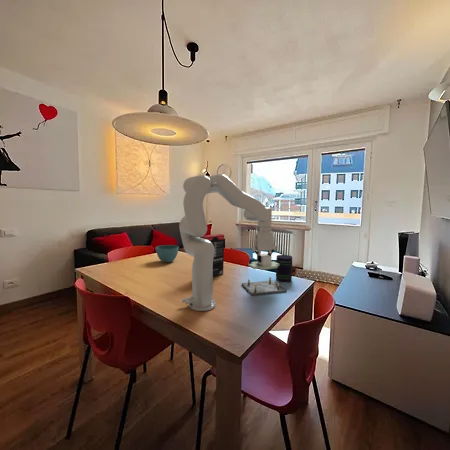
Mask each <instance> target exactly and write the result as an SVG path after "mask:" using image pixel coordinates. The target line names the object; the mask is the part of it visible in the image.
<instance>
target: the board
mask: <svg viewBox="0 0 450 450" xmlns="http://www.w3.org/2000/svg"><path fill="white" fill-rule="evenodd" d="M267 254H268V253H261V254H260V255H261V263H259V262H258V261H257V260H256V261H252V262H250V263H248V267H250V268H251V269H253V270H257V269H260V271H264V270H271V269H273V270H274V269H277V268H278V266H279V264H278V263H276V261H272V255H271V256H270V255H267Z"/></svg>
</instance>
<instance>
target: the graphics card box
mask: <svg viewBox="0 0 450 450" xmlns="http://www.w3.org/2000/svg"><path fill="white" fill-rule="evenodd" d="M200 238H203V239H207V240H209V241H210V242H211V243H212V244H213V246H214V250H215V252H214V258H213V277H217V276H220V275H221V276H222V275H223V274H224V261H225V259H224V258H225V257H224V255H225V234H223V233H221V234H219V233H218V234H209V235H207V234H206V235H204V236H201V237H200Z"/></svg>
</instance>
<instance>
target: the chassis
mask: <svg viewBox="0 0 450 450" xmlns="http://www.w3.org/2000/svg"><path fill="white" fill-rule="evenodd" d="M268 279H269V280H263V281H262V280H261V281H252V282H251V281H250V280H251V279H249V278H248V279H247V282H242V283H241V286H242V287H243V288H244V289H245V290H246V291H247V292H248V293H249V294H250V295H251V296H252V297H253V296H254V297H255V296H262V295H264V296H265V295H271V294H279V293H280V294H281V293H287V289H286V288H285V287H283V286H281V285H280V283H279V282H277V281H274V280H272V277H270V276H269V278H268Z"/></svg>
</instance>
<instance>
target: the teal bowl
mask: <svg viewBox="0 0 450 450" xmlns="http://www.w3.org/2000/svg"><path fill="white" fill-rule="evenodd" d="M179 248H180V247H179V245H175V244H165V245H164V244H162V245H158V246H156V247H155V252H156V255H157V257H158V259H159V260H160V261H161V262H162V263H163V262H170V263H172V261H173V262H174V261H175V260H176V258H177V257H178V256H177V255H178V253H179Z"/></svg>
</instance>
